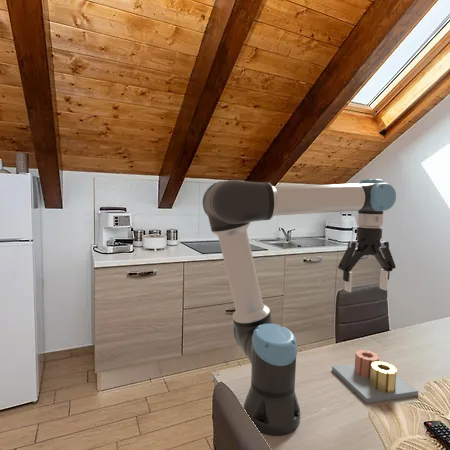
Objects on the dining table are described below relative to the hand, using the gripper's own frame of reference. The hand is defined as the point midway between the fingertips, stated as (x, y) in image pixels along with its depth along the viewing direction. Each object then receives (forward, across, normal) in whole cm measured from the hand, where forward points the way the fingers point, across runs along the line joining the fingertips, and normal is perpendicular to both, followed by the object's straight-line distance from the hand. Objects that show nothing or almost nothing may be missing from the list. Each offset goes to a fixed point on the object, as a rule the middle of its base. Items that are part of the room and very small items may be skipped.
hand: (365, 290), depth 107 cm
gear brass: (+27, 0, -10) cm, 29 cm away
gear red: (+27, 0, -3) cm, 27 cm away
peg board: (+29, 0, -6) cm, 29 cm away
